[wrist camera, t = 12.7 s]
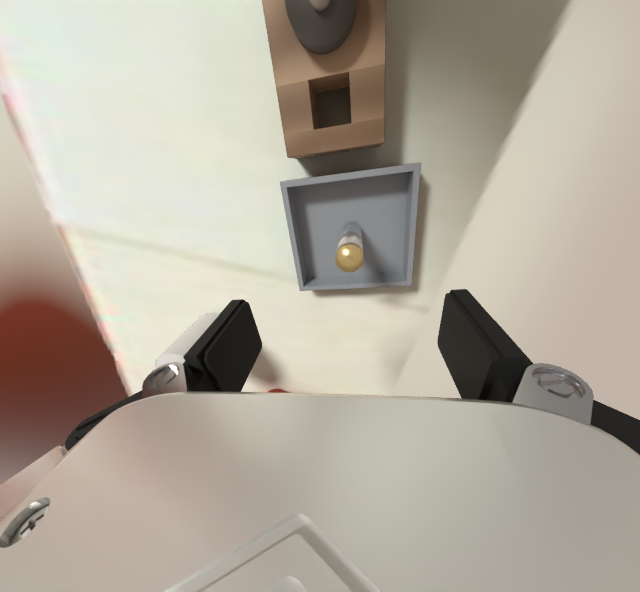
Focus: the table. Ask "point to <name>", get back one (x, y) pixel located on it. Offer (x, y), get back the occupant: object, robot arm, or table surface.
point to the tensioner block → (328, 70)
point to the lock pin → (350, 248)
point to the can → (186, 341)
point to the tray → (363, 208)
